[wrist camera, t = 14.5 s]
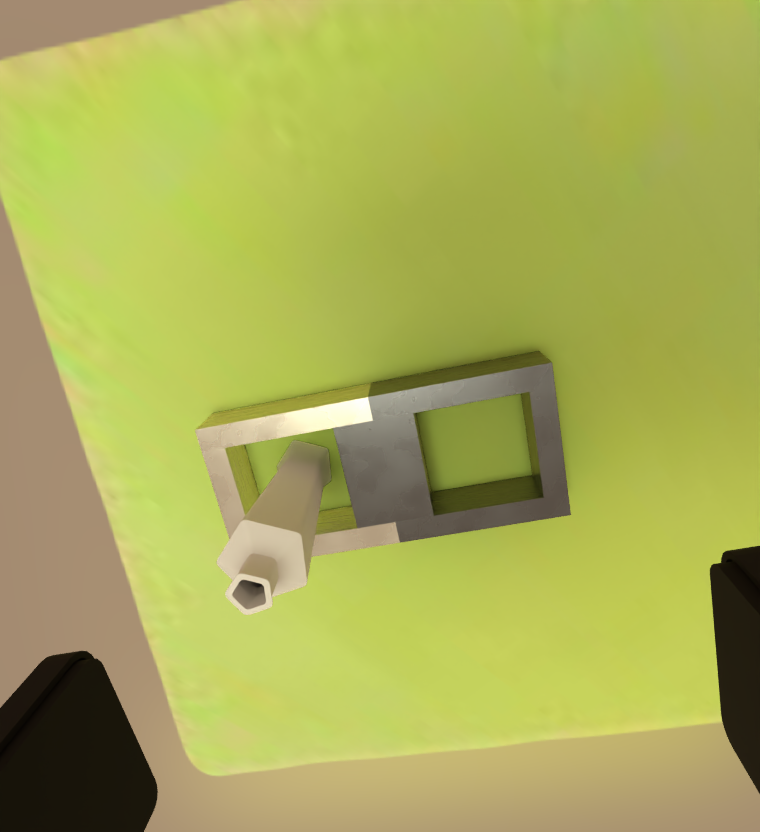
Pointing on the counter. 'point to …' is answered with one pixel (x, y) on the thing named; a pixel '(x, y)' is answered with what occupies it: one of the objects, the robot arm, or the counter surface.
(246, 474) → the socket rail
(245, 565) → the perfume bottle
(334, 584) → the counter surface
